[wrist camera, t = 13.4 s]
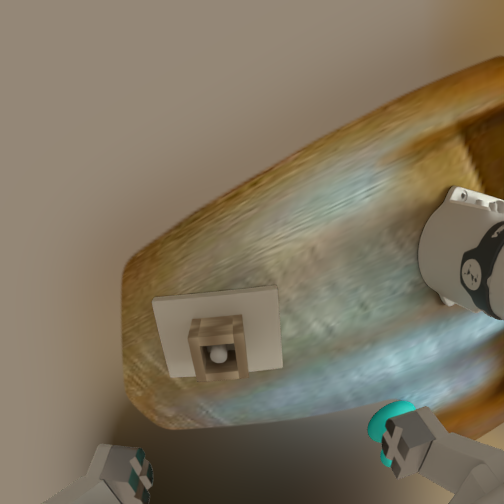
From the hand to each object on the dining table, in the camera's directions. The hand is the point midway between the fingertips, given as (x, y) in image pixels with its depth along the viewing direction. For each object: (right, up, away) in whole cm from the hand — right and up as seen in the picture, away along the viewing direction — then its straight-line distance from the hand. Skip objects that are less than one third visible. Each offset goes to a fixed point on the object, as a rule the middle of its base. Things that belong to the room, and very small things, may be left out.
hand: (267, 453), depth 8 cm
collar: (-5, -5, +32) cm, 32 cm away
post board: (-5, -4, +33) cm, 34 cm away
